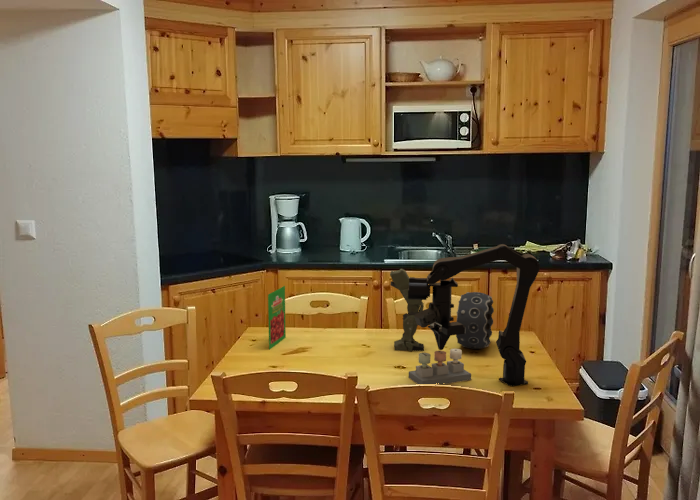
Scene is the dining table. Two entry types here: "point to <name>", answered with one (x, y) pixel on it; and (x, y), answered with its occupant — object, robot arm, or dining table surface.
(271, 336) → the tomato puree packet
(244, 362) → the dining table surface
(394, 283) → the mechanical leg
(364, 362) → the dining table surface
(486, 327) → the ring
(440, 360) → the terracotta key
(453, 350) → the cream key
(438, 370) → the grey button panel
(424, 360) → the sage key
